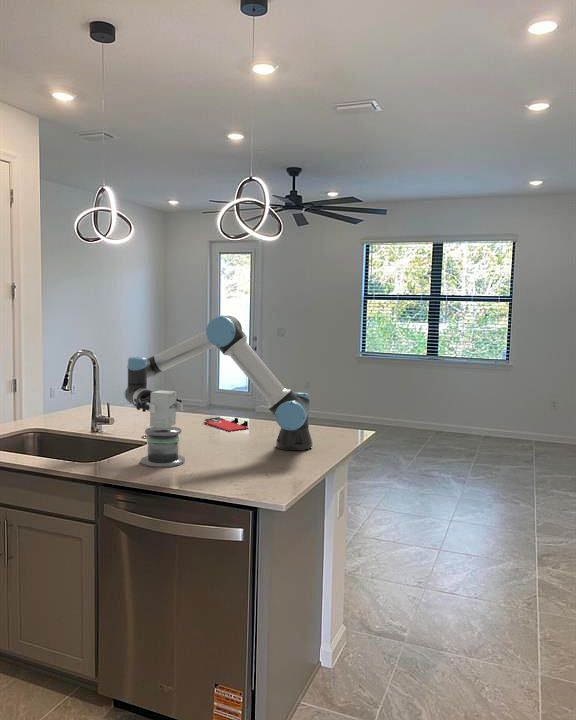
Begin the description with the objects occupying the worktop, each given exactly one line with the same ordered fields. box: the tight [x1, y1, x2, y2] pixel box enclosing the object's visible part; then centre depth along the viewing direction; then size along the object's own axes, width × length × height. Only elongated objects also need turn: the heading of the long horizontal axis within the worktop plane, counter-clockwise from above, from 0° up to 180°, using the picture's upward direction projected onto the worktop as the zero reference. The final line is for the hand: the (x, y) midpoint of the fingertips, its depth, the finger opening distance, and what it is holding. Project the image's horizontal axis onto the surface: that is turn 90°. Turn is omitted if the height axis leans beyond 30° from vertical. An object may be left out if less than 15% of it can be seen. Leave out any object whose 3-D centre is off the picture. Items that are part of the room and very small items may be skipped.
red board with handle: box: [203, 416, 250, 433], centre depth 288 cm, size 30×3×15 cm
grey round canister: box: [140, 426, 186, 468], centre depth 216 cm, size 16×16×12 cm
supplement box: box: [149, 390, 177, 428], centre depth 215 cm, size 7×7×13 cm
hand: (168, 408), depth 211 cm, fingers closed on supplement box, 10 cm apart
